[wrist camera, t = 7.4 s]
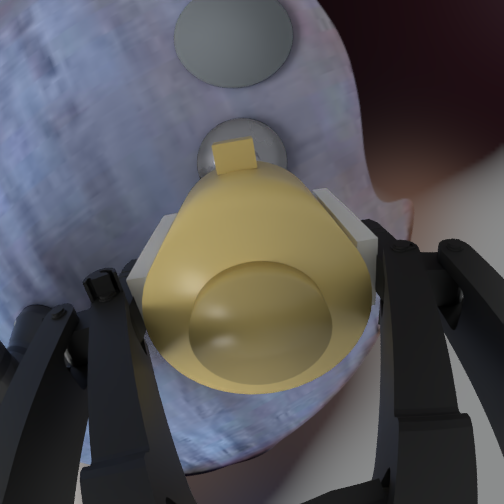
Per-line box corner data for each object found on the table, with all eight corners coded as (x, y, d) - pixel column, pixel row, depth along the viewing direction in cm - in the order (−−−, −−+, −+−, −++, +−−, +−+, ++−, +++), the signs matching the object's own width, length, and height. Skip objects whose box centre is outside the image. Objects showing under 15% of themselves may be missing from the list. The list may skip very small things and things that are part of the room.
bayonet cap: (202, 317, 18) (189, 434, 11) (157, 153, 14) (82, 202, 7) (324, 296, 17) (368, 406, 10) (308, 126, 13) (384, 148, 6)
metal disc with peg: (290, 195, 37) (302, 214, 31) (207, 209, 37) (201, 231, 31) (278, 112, 33) (289, 112, 26) (190, 127, 33) (179, 131, 27)
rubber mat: (300, 80, 31) (301, 79, 30) (185, 98, 31) (183, 98, 31) (281, -18, 25) (282, -20, 25) (168, 0, 26) (166, -2, 25)
